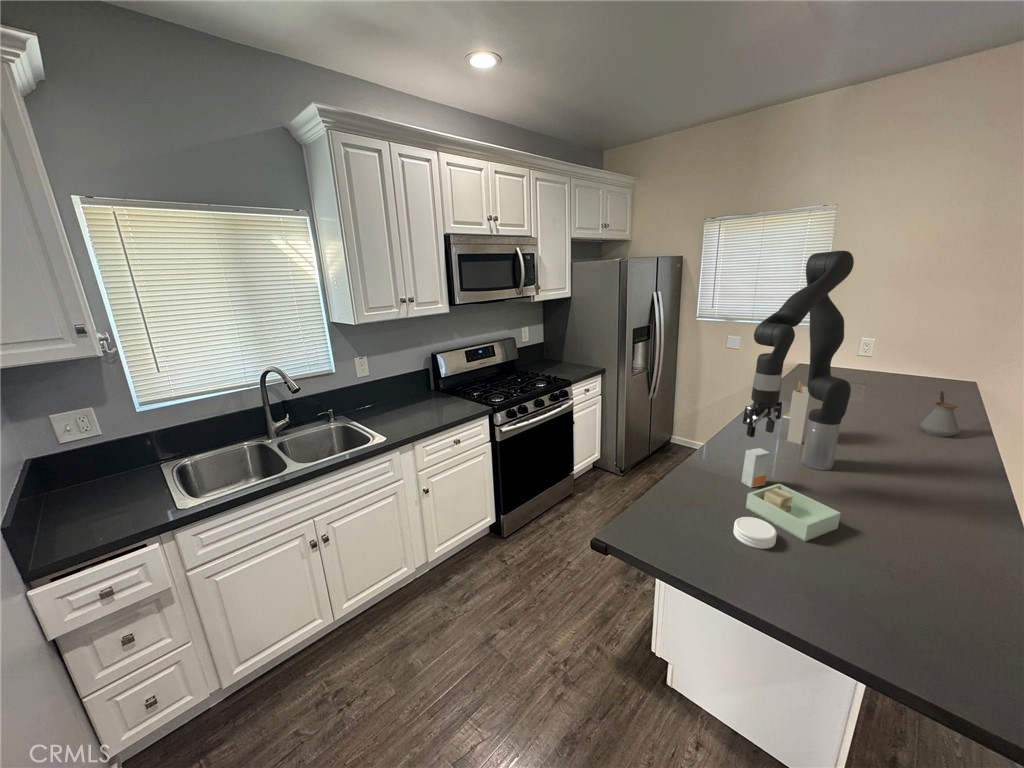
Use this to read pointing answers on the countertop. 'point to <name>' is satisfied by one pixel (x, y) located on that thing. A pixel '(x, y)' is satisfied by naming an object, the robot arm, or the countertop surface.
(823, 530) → the tote
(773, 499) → the maple cube
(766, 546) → the white round ribbed disc
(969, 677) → the countertop surface
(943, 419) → the coffee pot
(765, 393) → the robot arm
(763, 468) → the skincare box
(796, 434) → the tall cream panel
